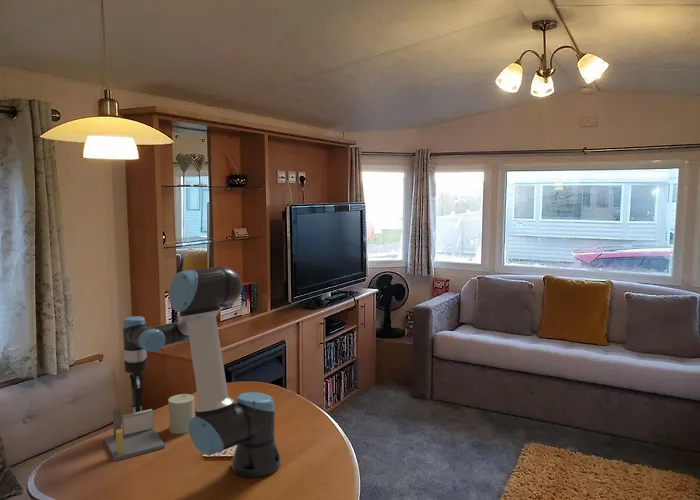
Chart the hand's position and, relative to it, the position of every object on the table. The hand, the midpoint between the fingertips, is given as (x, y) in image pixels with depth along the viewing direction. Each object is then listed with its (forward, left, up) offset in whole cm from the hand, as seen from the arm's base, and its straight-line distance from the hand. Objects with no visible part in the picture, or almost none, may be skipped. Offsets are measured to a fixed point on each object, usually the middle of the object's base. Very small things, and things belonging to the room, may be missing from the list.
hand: (138, 422), depth 196 cm
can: (-8, -13, -3) cm, 16 cm away
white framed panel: (-5, +1, -1) cm, 5 cm away
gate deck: (-11, +4, -3) cm, 12 cm away
